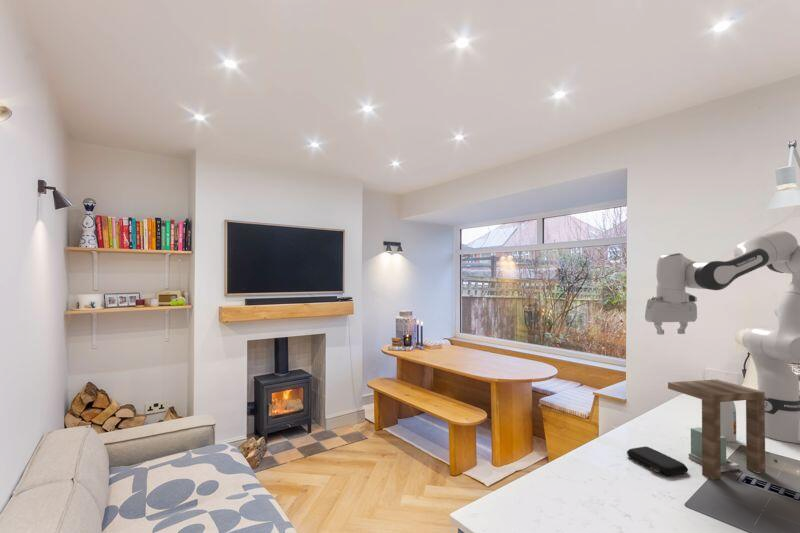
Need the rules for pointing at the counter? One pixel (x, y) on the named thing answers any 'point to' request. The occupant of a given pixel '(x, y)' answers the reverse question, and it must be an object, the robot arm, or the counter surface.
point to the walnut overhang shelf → (711, 434)
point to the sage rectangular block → (697, 444)
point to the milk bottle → (728, 420)
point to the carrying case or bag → (657, 461)
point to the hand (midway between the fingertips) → (670, 334)
